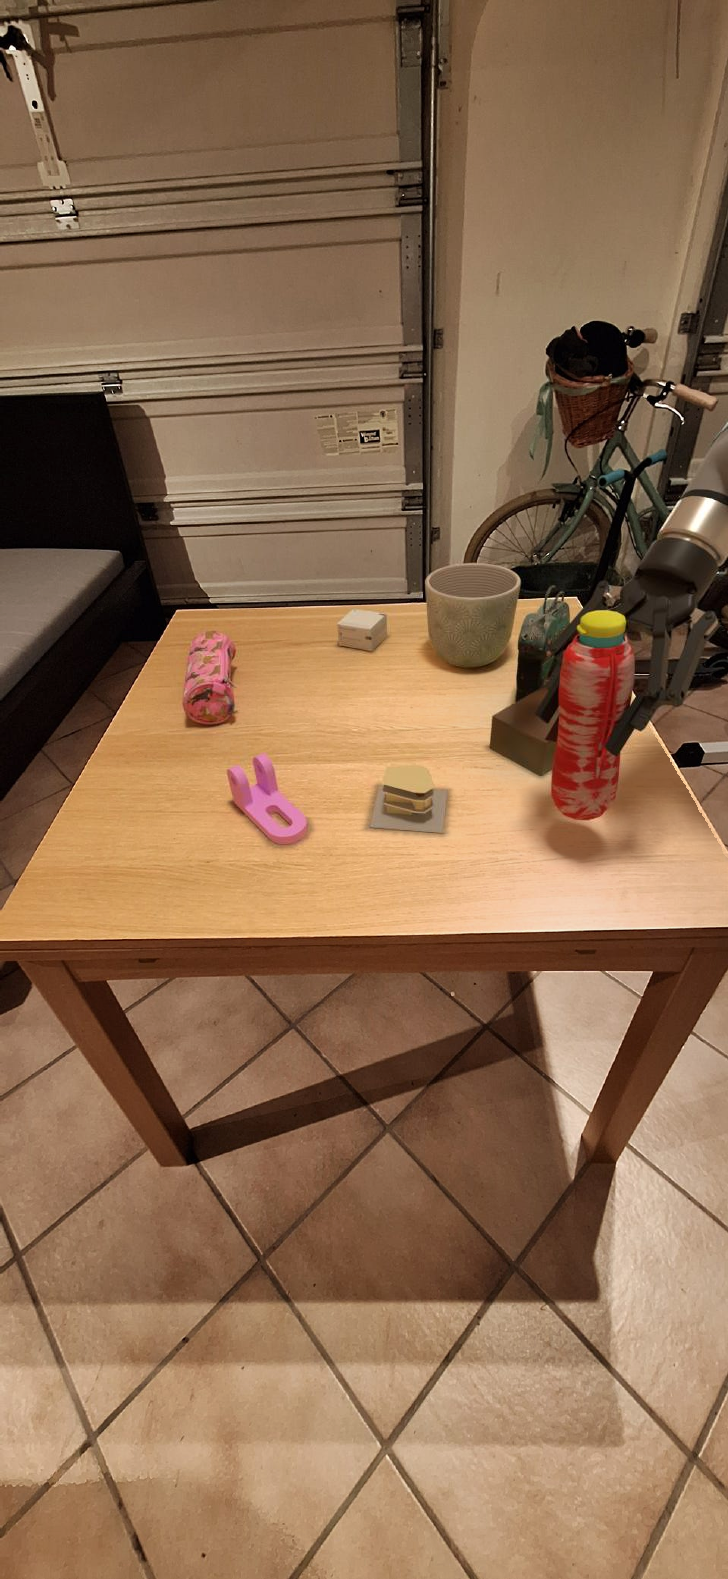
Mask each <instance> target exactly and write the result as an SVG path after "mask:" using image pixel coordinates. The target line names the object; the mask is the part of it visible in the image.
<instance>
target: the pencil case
mask: <svg viewBox="0 0 728 1579" xmlns="http://www.w3.org/2000/svg"><path fill="white" fill-rule="evenodd" d="M236 653H237V649H236V646H235V643H234V642H233V640H232V639H230V637H229V636H228V635H225V634H223V633H221V632H219V631H217V630H214V629H208V630H205V631H202V632H201V633H199V634H198V635H196V636H195V637H194V638H193V639H192V640H191V642H190V644H189V650H188V655H187V662H186V673H185V677H184V687H183V692H182V693H183V694H182V707H183V711H184V713H185V715H186V717H187V718H188V719H189V720H190V721H192V722H194V723H198V724H203V725H217V724H221V723H223V722H225V721H226V720H228V719H229V718H230V716H232V715H233V713H234V710H235V705H236V704H235V695H234V694H235V693H234V691H233V689H232V687H234V688H235V689H237V686H236V685H235V684H234V683H233V682H232V681H231V678H232V677H231V675H232V662H233V661H234V659H235V656H236V655H237V654H236Z"/></svg>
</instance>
